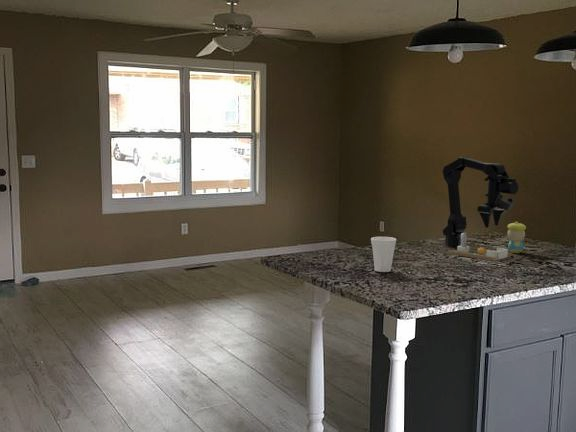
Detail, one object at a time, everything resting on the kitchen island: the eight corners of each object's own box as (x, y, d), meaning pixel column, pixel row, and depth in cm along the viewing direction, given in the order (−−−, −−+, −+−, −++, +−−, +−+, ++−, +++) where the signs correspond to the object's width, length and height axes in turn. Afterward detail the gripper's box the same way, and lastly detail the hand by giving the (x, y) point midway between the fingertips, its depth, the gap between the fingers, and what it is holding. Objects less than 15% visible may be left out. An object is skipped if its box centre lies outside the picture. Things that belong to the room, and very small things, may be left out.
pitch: (447, 255, 281) (447, 250, 281) (466, 250, 293) (466, 246, 292) (493, 262, 266) (493, 257, 266) (511, 257, 277) (511, 252, 277)
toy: (521, 252, 290) (523, 220, 288) (526, 256, 281) (528, 223, 279) (503, 252, 291) (505, 219, 289) (508, 255, 282) (510, 222, 280)
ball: (475, 255, 278) (476, 247, 278) (479, 254, 281) (480, 246, 280) (483, 256, 276) (483, 248, 275) (486, 255, 278) (487, 247, 278)
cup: (365, 269, 251) (366, 237, 249) (386, 267, 255) (387, 235, 253) (378, 274, 242) (379, 241, 240) (400, 272, 245) (401, 239, 244)
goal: (486, 258, 271) (486, 250, 271) (497, 255, 278) (497, 247, 278) (496, 260, 268) (497, 252, 267) (507, 257, 275) (508, 249, 274)
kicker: (457, 251, 285) (457, 233, 284) (461, 250, 287) (462, 232, 286) (465, 252, 282) (465, 234, 281) (469, 251, 285) (470, 233, 283)
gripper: (502, 195, 266) (499, 231, 269) (521, 192, 280) (518, 226, 282) (477, 192, 274) (475, 227, 277) (497, 189, 287) (494, 223, 290)
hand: (491, 226), depth 281 cm, fingers open, 9 cm apart
